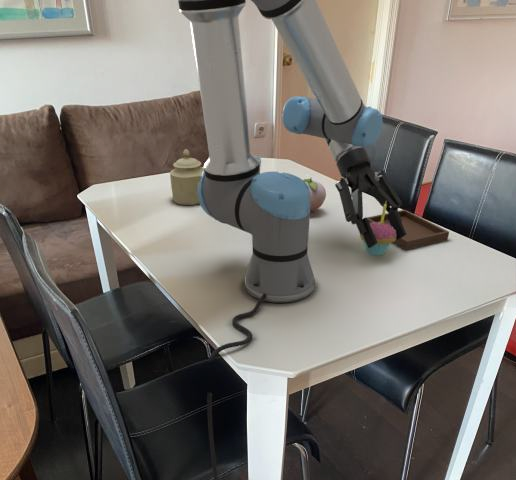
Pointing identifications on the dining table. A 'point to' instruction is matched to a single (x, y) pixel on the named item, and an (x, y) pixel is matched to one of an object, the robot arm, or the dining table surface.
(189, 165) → the sugar bowl
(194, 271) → the dining table surface
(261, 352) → the dining table surface
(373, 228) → the cupcake
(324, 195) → the decorative fruit
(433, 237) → the tray
